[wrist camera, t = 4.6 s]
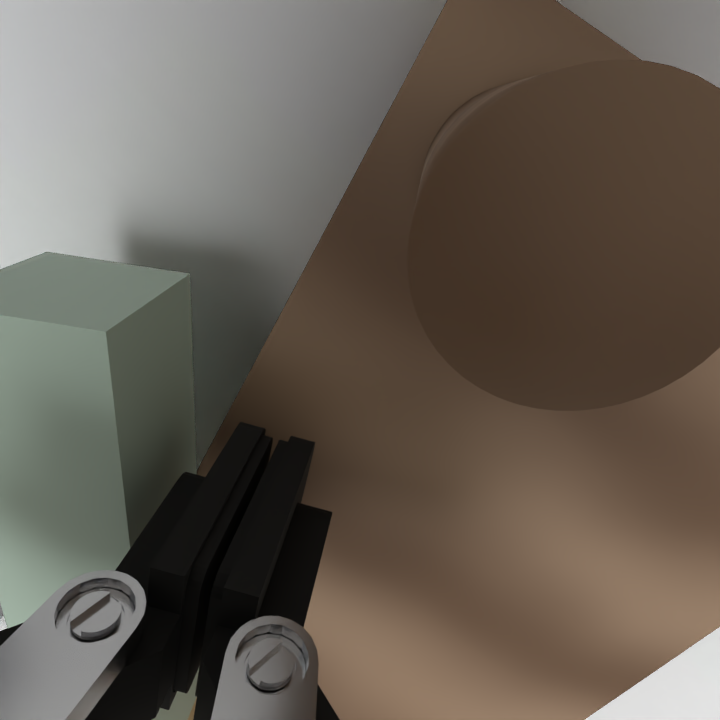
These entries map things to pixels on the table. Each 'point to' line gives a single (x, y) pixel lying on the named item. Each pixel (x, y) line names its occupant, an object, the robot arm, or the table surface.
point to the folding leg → (88, 420)
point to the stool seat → (510, 379)
